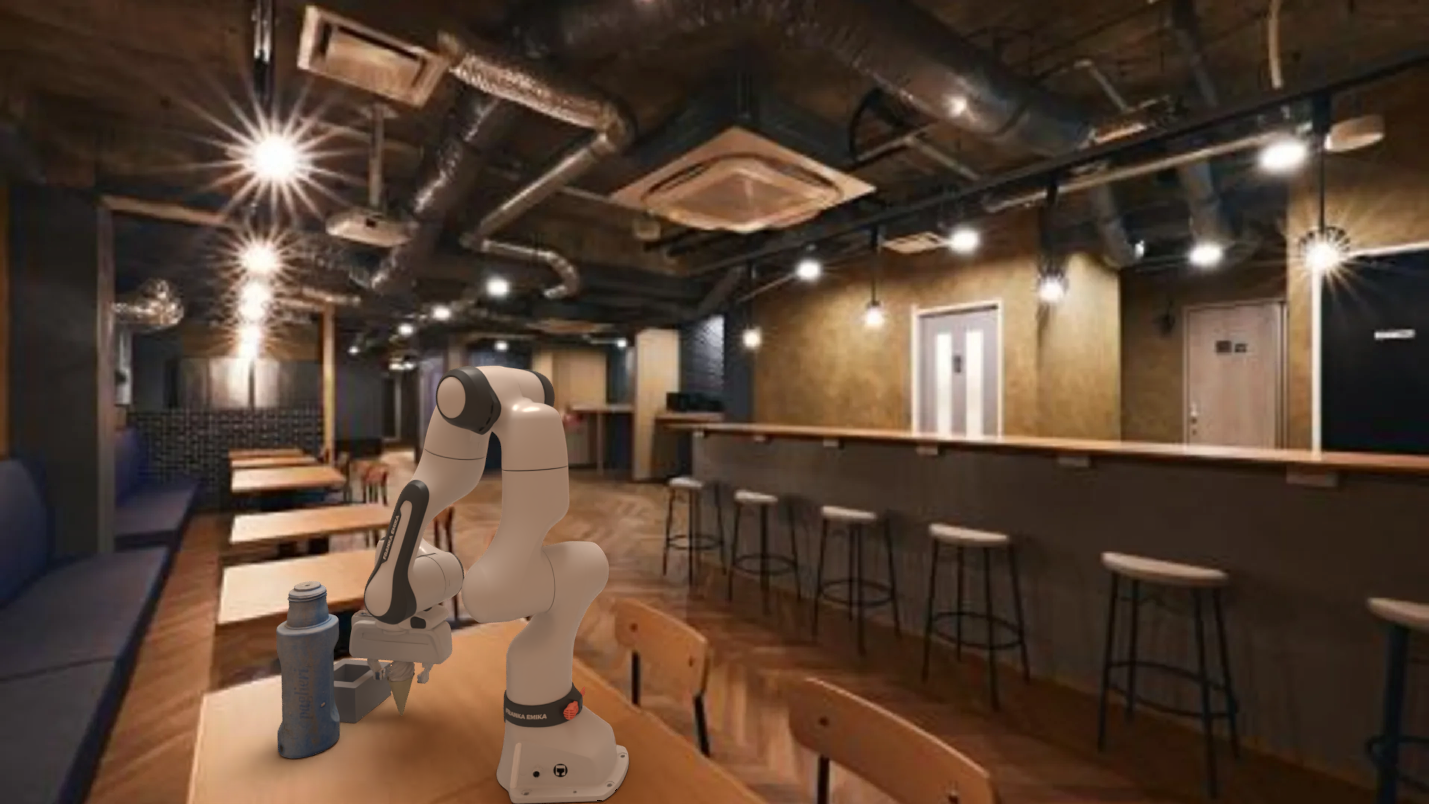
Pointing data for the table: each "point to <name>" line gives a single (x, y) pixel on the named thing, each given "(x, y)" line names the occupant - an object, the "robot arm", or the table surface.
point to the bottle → (307, 673)
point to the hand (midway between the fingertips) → (401, 680)
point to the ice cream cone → (401, 682)
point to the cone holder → (358, 689)
